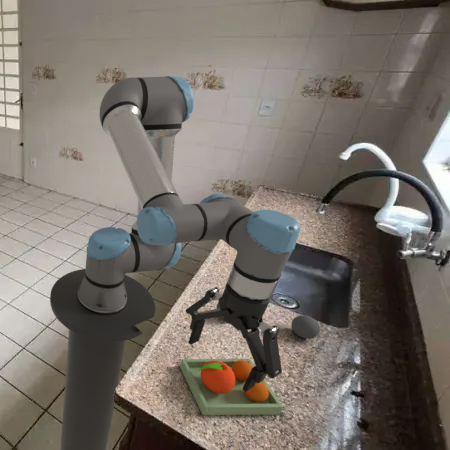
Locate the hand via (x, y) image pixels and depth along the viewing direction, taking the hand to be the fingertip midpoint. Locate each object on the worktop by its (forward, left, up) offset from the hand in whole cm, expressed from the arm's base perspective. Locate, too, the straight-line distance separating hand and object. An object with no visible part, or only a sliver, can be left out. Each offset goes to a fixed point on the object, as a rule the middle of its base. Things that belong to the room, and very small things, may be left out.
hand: (218, 363), depth 77 cm
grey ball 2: (0, +36, -5) cm, 36 cm away
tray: (+2, +3, -8) cm, 9 cm away
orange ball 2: (+6, +6, -5) cm, 10 cm away
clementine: (0, 0, -8) cm, 8 cm away
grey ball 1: (-14, +24, -5) cm, 28 cm away
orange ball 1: (+2, +8, -5) cm, 10 cm away
